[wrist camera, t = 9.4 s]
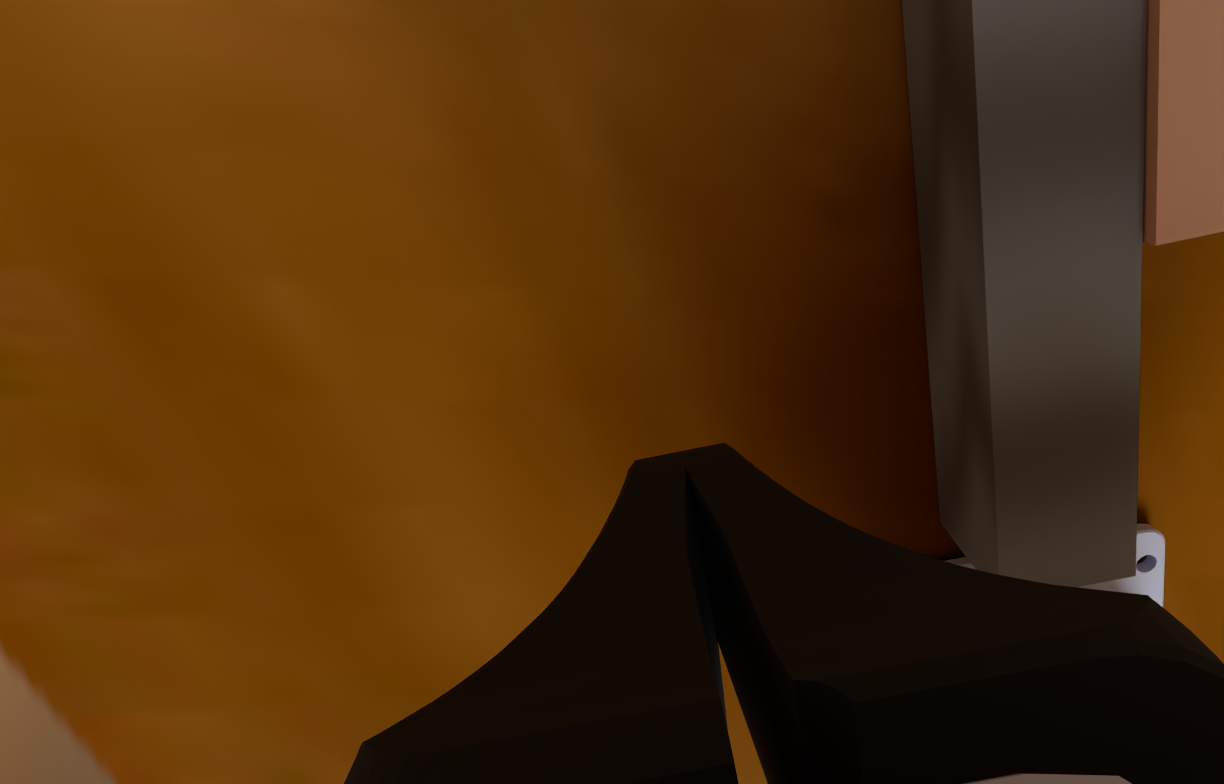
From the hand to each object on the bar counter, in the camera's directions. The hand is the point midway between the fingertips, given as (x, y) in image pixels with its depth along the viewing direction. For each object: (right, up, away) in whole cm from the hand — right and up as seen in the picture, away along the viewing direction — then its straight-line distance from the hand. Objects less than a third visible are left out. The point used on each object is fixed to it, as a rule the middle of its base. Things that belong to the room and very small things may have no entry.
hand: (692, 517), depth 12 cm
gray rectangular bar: (+7, +8, +7) cm, 13 cm away
